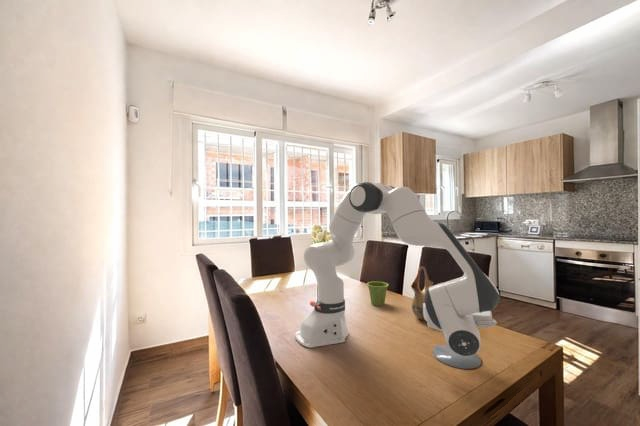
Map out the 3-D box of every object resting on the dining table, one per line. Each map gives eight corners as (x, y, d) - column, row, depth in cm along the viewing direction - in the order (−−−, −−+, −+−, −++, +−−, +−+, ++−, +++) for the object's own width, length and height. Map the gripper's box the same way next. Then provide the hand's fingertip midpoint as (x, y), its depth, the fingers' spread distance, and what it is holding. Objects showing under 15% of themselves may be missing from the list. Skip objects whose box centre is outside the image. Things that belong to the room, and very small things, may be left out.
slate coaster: (462, 374, 81) (462, 372, 81) (423, 352, 95) (423, 350, 95) (490, 361, 88) (490, 359, 88) (450, 342, 101) (450, 341, 101)
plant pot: (391, 307, 141) (391, 286, 141) (369, 307, 141) (368, 286, 141) (386, 300, 152) (385, 281, 153) (365, 300, 153) (365, 281, 153)
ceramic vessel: (422, 326, 116) (421, 270, 117) (404, 320, 124) (403, 267, 124) (441, 317, 126) (440, 265, 127) (424, 312, 134) (423, 263, 134)
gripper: (497, 314, 76) (488, 300, 88) (422, 306, 84) (423, 294, 96) (498, 336, 76) (488, 319, 88) (422, 326, 83) (423, 311, 96)
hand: (453, 306), depth 92 cm, fingers closed on eye dropper bottle, 5 cm apart
